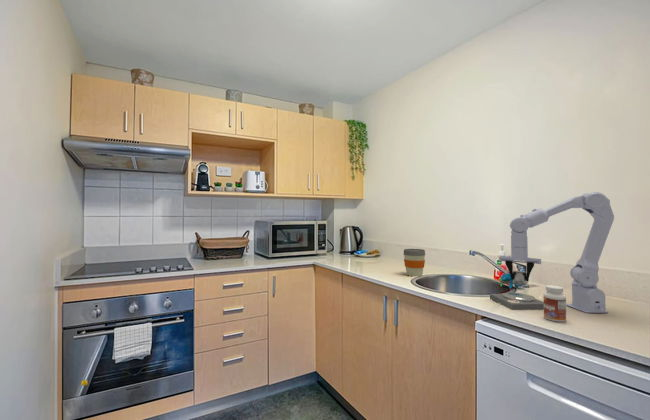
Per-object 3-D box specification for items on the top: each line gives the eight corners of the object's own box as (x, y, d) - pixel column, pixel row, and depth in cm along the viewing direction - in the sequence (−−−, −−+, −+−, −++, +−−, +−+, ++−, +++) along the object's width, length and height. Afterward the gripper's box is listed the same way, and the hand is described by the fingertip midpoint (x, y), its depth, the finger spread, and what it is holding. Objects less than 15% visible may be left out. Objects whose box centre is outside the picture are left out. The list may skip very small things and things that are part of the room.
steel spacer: (529, 285, 121) (528, 272, 121) (517, 285, 122) (517, 272, 122) (522, 283, 126) (522, 271, 126) (510, 282, 126) (510, 270, 126)
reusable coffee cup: (411, 272, 187) (411, 248, 188) (429, 275, 178) (429, 250, 178) (399, 274, 179) (399, 249, 180) (417, 278, 170) (417, 251, 170)
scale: (549, 309, 113) (548, 302, 113) (512, 309, 113) (512, 302, 113) (522, 298, 128) (522, 292, 128) (490, 298, 128) (489, 292, 128)
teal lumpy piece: (528, 285, 145) (519, 271, 142) (526, 295, 142) (516, 282, 139) (504, 284, 154) (495, 271, 151) (502, 293, 151) (492, 281, 148)
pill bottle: (539, 316, 106) (538, 284, 106) (555, 315, 106) (554, 284, 106) (554, 322, 99) (553, 289, 100) (571, 322, 100) (570, 288, 100)
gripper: (540, 247, 123) (540, 280, 123) (499, 245, 131) (500, 276, 131) (541, 248, 117) (541, 283, 117) (498, 246, 125) (498, 279, 125)
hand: (519, 280), depth 123 cm, fingers closed on steel spacer, 5 cm apart
